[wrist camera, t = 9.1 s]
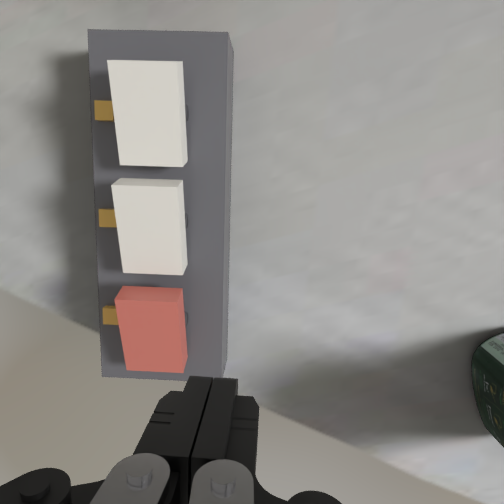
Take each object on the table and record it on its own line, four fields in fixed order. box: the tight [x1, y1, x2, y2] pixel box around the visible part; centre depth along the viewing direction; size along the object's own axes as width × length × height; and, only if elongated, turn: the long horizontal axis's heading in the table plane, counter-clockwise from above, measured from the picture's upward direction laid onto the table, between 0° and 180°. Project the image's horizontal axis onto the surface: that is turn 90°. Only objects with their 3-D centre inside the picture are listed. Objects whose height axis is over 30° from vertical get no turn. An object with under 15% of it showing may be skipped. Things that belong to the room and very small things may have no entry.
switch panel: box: [88, 29, 234, 381], centre depth 29 cm, size 24×9×5 cm, turn 178°
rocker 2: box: [111, 178, 188, 275], centre depth 26 cm, size 6×4×2 cm, turn 178°
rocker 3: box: [114, 286, 188, 373], centre depth 27 cm, size 6×4×2 cm, turn 179°
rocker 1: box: [107, 60, 188, 167], centre depth 25 cm, size 6×4×2 cm, turn 179°
